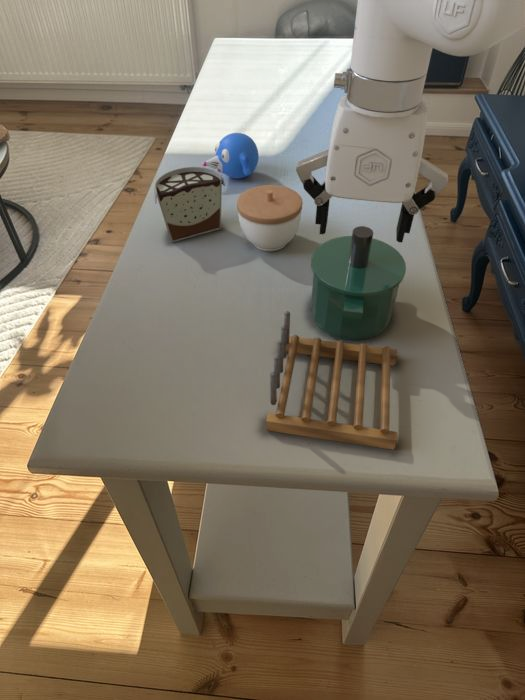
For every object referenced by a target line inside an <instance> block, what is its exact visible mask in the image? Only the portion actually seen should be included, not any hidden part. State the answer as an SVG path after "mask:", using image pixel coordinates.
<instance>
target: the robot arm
mask: <svg viewBox="0 0 525 700" xmlns="http://www.w3.org/2000/svg"><path fill="white" fill-rule="evenodd" d="M354 21H355V22H354V31H353V38H352V48H351V57H350V65H349V67H350V68H347V69H346V71H342V73H341V72H335V73H334V81H333V88H335V89H340V90H341V91H344V92H343V93H344V95H343V96H342V97H341V98H340V99H339V102H338V105H337V108H336V111H335V114H334V119H333V124H332V129H331V133H330V139H329V147H328V149H326V150H324V151H322V152H318V153H316V154H314V155H311V156H309V157H307V158H303V159H302V160H300V161H298V162H297V165H296V168H295V171H296V174H297V176H298V178H299V180H300V182H301V183H302V187H303V190H304V191H305V192H306V193H307V194H308V195H309V196H310V197H311V198H312V199H313V200H314V204H315V206H316V211H315V222H314V224H315V225H319V235H323V236H324V235H325V234H326V232H327V226H328V220H329V219H328V218H329V210H330V201H331V199H332V198H333V197H335V198H339V199H345V200H346V199H347V200H354V201H355V200H357V201H367V202H376V203H377V202H379V203H391V204H401V207H400V212H399V216H398V220H397V224H396V228H395V229H396V231H395V232H396V235H395V236H396V238H395V241H396V242H397V243H400V244H401V243H403V241H404V237H405V234H410V233H411V229H412V225H413V222H414V217H415V215H417V214H418V213H419V211H420V210H421V209H423V208H424V207H426V206H427V205H429V204H430V203H432V202H433V201H434V200H435V199H436V197H437V195H439V194H440V193H441V192H442V191H443V190H444V188H445V187H446V186H447V185H448V184H449V175H448V173H446V172H445V171H443V170H442V169H440V167H437V166H436V165H434V164H433V163H431V162H429V161H428V160H427V159H425V158H424V157H423V150H424V145H425V138H426V130H427V120H428V119H427V118H428V108H427V106H426V103H425V101H423V100H422V97H423V93H424V90H425V89H424V88H425V84H426V80H427V76H428V71H429V65H430V62H431V58H432V52H433V49H434V50H435V51H436V50H437V51H439V52H441V53H442V54H443V53H444V54H446V55H449V56H454V57H471V56H476V55H478V54H482V53H483V52H485V51H487V50H489V49H492V47H494V46H497V45H498V44H499V43H501V42H503V41H505V40H506V39H507V38H509V37H511V36H513V35H514V34H516V33H518V32H519V31H521V30H523V29H525V0H357V4H356V12H355V20H354ZM324 167H326V168H325V179H324V181H322V183H321V182H319V181H318V180H317V179H316V178H315V177H314V176H313V174H312V172H314V171H316V170H319V169H321V168H324ZM419 175H420V176H421V177H423V178H425V179H426V180H428V182H429V184H428V185H427V186H425V187H423V188H422V189H421V190H419V191H418V192H416V191H415V190H416V187H417V183H418V178H419Z"/></svg>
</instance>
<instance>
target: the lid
mask: <svg viewBox="0 0 525 700" xmlns="http://www.w3.org/2000/svg"><path fill="white" fill-rule="evenodd" d="M373 237H374V231H373V229H372V228H371V227H368V226H365V225H364V226H363V225H359V226H355V227H354V228H353V229H352V234H351V235H345V236H338V237H334V238H331V239H329V240H326V241H325V242H323V243H322V244H320V245H318V247H316V249H315V250H314V251H313V253H312V256H311V260H310V268H311V271H312V274H314V275H315V277H316V278H317V279H318V280H319V281H320V282H321V283H322V284H323V285H325V286H326V287H328V288H330V289H332V290H334V291H336V292H339V293H342V294H347V295H352V296H375V295H379V294H383V293H386V292H388V291H391V290H392V289H394V288H395V287H397V286H398V285H399V286H400V284H401V283H402V282H403V280H404V278H405V275H406V272H407V270H406V269H407V265H406V261H405V259H404V257H403V256H402V254H401V253H400V251H398V250H397V249H396V248H395V247H393V246H392V245H390V244H389V243H386V242H384V241H382V240H381V239H380V240H379V239H378V238H377V239H376V238H373Z"/></svg>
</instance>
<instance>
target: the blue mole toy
mask: <svg viewBox="0 0 525 700" xmlns="http://www.w3.org/2000/svg"><path fill="white" fill-rule="evenodd" d="M214 151H215V152H214V153H215V154H214V156H213V157H211V158H209V159H207V160H204V161H203V162H202V163H201V165H202V167H208V168H210V169H212V170H217V171H216V172H218V173H219V174H223V175H225V176H227V177H229V178H231V179H244V178H246V177H248V176H250V175H252V174H253V172H254V171H255V170H256V169H257V167H258V163H259V150H258V147H257V144H256V142H255V141H254V140H253V138H251V136H249V135H247V134H245V133H241V132H232V133H229V134H227V135H225V136H223V137H222V138H221V139H220V140H219V142H218V143H217V144H216V145H215V148H214Z"/></svg>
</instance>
